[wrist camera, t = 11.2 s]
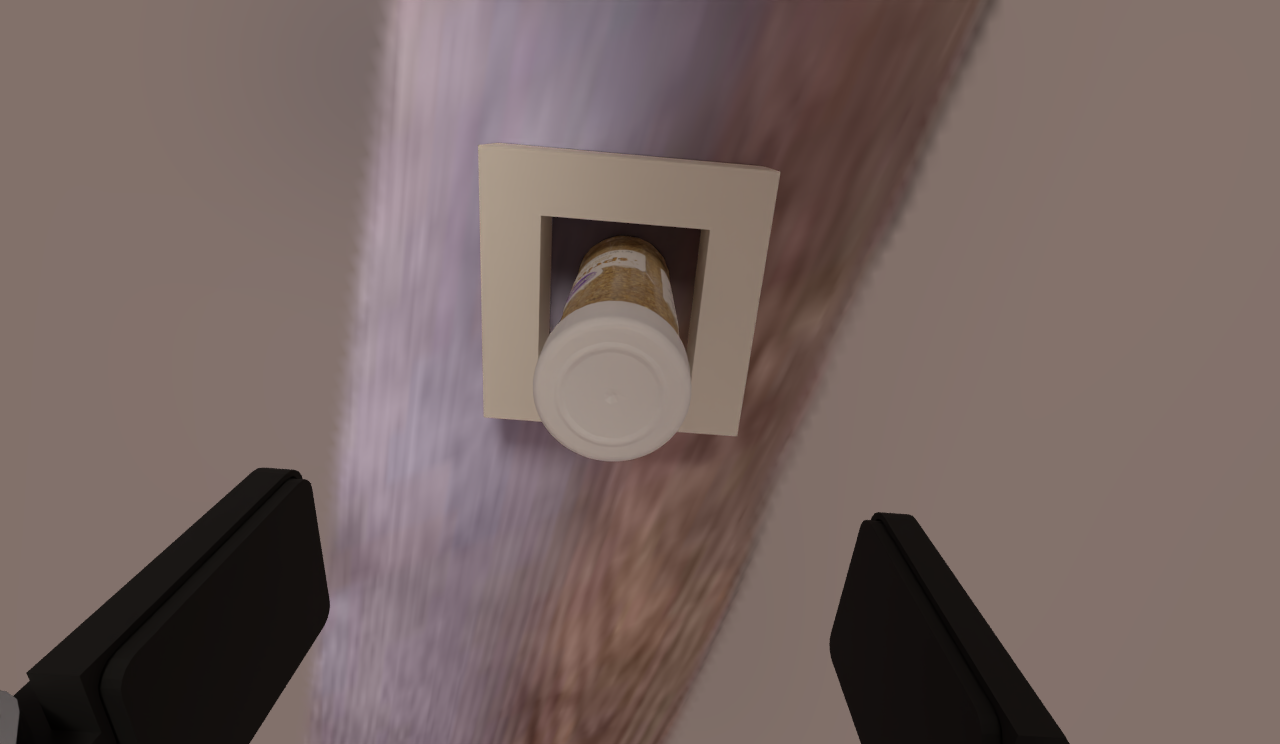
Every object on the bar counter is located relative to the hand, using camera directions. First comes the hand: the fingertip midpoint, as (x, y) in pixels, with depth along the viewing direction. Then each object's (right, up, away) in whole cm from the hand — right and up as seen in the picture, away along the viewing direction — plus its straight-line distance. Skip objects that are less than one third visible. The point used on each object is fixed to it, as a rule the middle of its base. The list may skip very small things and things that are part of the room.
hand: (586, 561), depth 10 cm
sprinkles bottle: (0, +8, +19) cm, 21 cm away
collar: (0, +8, +19) cm, 20 cm away
